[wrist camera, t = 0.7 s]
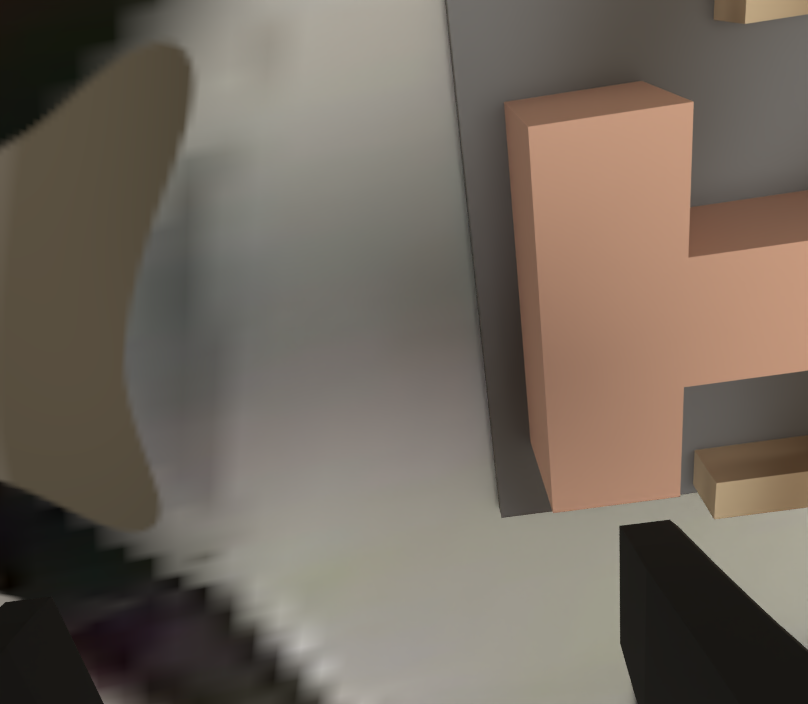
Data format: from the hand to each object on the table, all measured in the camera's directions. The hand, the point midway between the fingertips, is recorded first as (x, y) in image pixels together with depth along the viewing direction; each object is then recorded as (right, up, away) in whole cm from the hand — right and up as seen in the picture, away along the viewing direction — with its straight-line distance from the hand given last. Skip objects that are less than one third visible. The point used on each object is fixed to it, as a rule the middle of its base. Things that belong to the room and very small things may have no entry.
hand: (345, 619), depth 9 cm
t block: (+8, +5, +8) cm, 13 cm away
